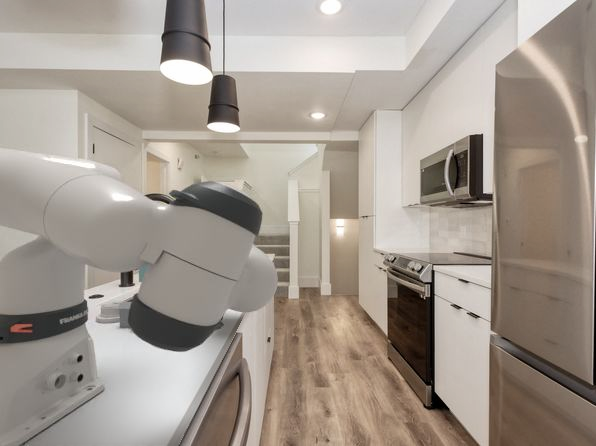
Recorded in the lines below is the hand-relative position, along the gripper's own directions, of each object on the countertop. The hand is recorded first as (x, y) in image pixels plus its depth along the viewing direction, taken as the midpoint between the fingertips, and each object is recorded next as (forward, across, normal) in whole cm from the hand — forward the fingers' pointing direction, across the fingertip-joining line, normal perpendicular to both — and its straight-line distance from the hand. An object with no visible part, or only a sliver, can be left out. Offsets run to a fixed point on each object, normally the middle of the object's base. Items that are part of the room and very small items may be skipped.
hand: (148, 256), depth 89 cm
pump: (-1, 0, -7) cm, 7 cm away
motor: (0, -1, -18) cm, 18 cm away
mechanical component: (+11, +3, -18) cm, 22 cm away
